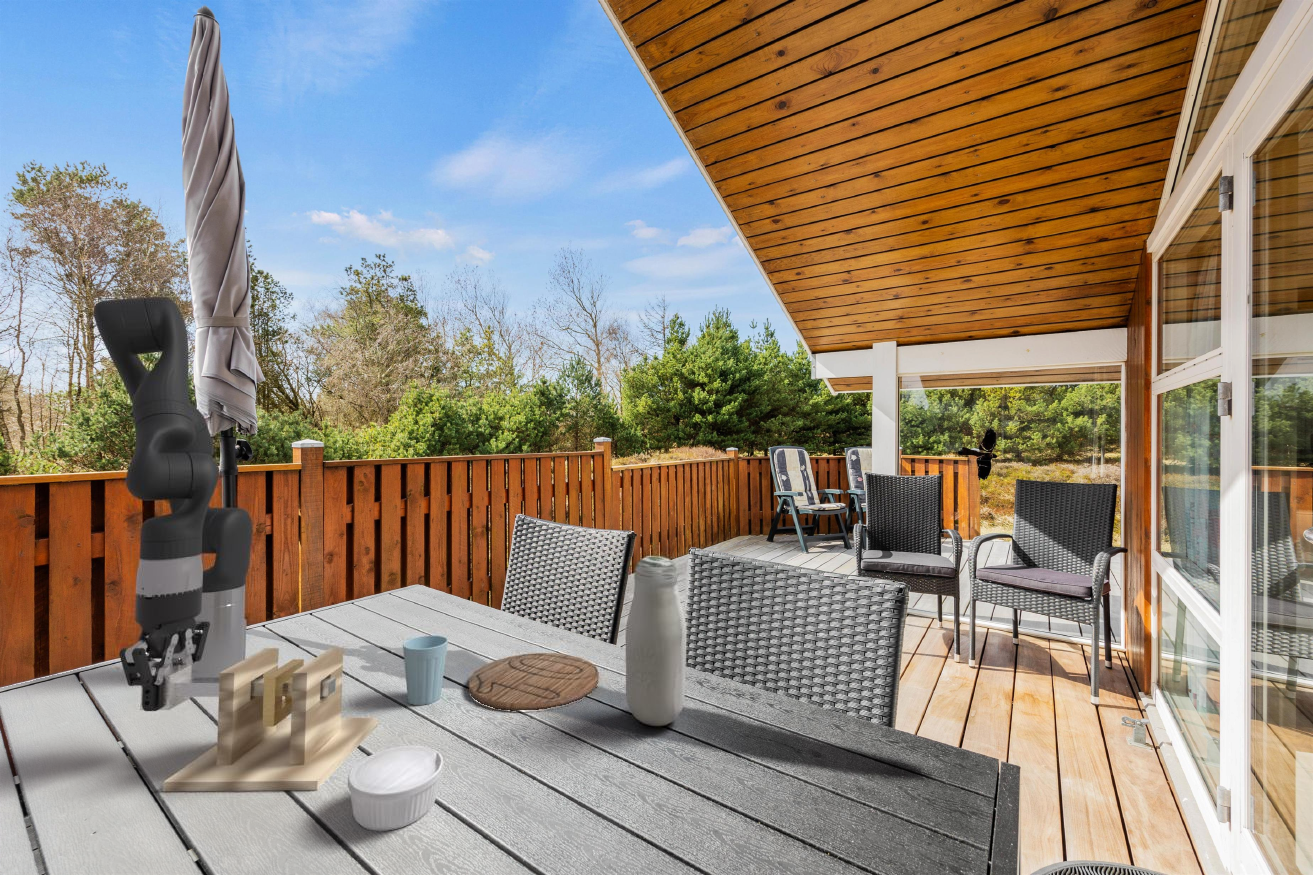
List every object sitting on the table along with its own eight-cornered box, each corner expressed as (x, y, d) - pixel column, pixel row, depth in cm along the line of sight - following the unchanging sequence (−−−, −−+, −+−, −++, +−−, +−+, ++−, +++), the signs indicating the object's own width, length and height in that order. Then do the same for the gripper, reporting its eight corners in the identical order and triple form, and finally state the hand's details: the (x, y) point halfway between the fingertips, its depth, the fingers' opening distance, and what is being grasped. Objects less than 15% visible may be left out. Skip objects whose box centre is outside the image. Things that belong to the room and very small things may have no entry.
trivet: (555, 725, 96) (555, 713, 96) (439, 699, 105) (439, 688, 105) (619, 672, 119) (619, 663, 119) (519, 654, 128) (519, 646, 128)
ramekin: (434, 832, 68) (435, 787, 68) (332, 843, 66) (334, 797, 66) (448, 779, 79) (449, 740, 79) (361, 787, 77) (362, 748, 77)
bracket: (162, 791, 75) (166, 684, 75) (253, 725, 93) (256, 639, 93) (317, 789, 76) (320, 684, 76) (377, 725, 94) (380, 639, 94)
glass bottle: (692, 714, 99) (694, 554, 100) (669, 741, 90) (671, 564, 91) (641, 703, 104) (644, 549, 104) (614, 727, 94) (617, 558, 95)
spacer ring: (262, 726, 81) (264, 677, 81) (291, 704, 88) (293, 659, 88) (273, 726, 81) (275, 677, 81) (302, 704, 88) (303, 659, 88)
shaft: (140, 710, 82) (141, 675, 82) (163, 698, 86) (164, 664, 86) (324, 709, 83) (325, 675, 83) (338, 697, 87) (339, 664, 87)
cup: (448, 687, 109) (449, 633, 109) (445, 705, 102) (446, 646, 102) (405, 692, 107) (406, 636, 107) (399, 710, 99) (400, 650, 100)
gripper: (182, 575, 91) (178, 683, 91) (99, 598, 77) (93, 726, 77) (230, 576, 92) (226, 683, 91) (156, 599, 77) (151, 726, 77)
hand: (165, 702), depth 84 cm, fingers closed on shaft, 4 cm apart
